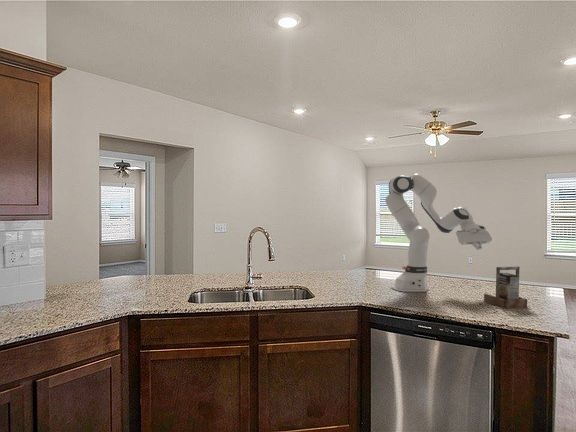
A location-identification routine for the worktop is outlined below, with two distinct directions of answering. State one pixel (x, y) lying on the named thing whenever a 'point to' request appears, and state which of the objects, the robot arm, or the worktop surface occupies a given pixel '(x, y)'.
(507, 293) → the coffee box
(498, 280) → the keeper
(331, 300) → the worktop surface
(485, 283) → the worktop surface
